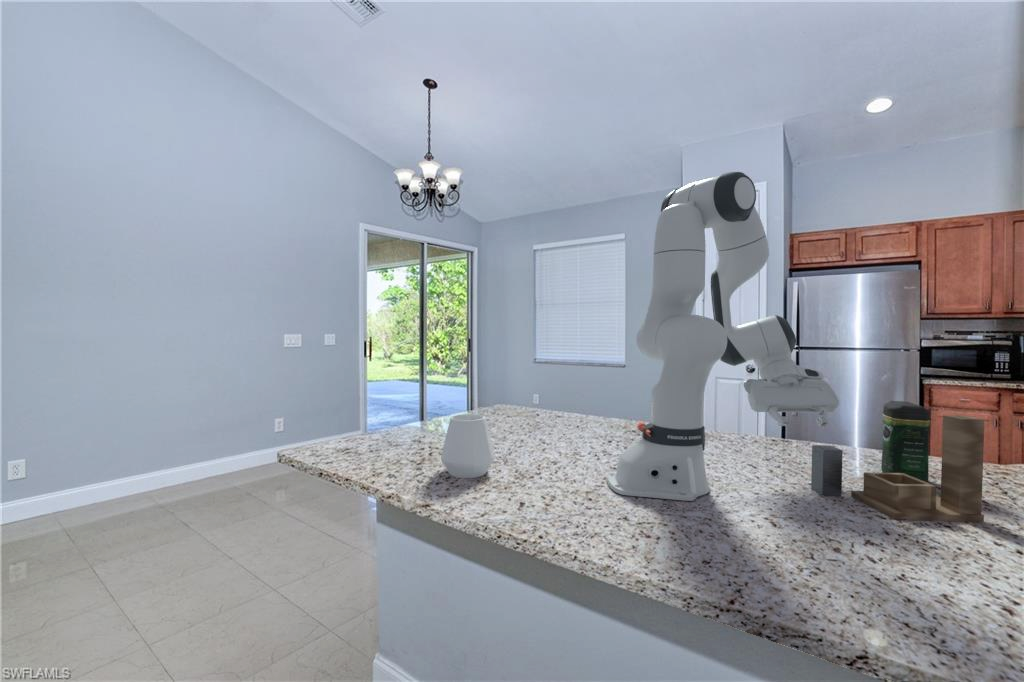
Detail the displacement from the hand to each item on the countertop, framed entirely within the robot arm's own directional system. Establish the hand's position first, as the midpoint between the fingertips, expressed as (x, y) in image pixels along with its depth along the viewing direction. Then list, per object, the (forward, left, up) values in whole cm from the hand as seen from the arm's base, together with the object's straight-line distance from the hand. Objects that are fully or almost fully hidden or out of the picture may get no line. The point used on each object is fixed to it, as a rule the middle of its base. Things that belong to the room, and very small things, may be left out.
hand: (804, 424), depth 109 cm
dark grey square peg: (0, -9, -13) cm, 16 cm away
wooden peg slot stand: (+12, -17, -13) cm, 24 cm away
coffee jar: (+25, +2, -13) cm, 28 cm away
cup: (-81, 0, -13) cm, 82 cm away
